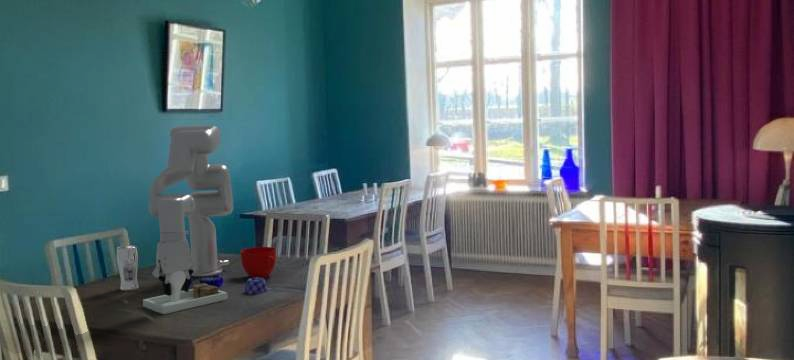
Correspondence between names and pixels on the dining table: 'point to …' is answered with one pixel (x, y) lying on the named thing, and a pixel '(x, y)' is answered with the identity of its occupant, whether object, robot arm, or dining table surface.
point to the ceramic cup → (258, 261)
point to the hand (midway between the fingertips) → (176, 292)
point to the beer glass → (127, 267)
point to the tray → (181, 301)
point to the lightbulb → (176, 284)
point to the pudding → (256, 286)
